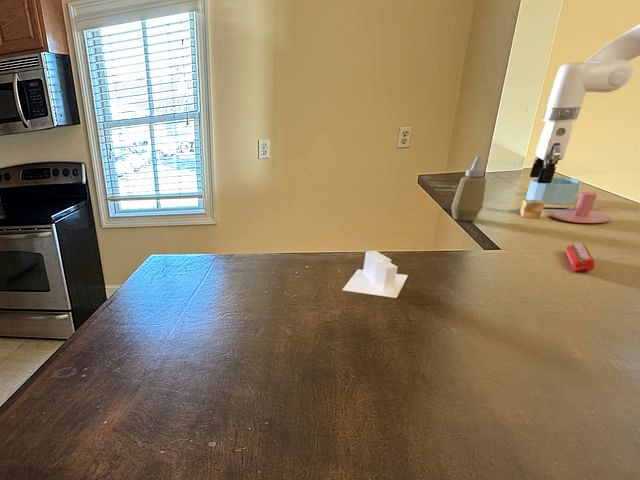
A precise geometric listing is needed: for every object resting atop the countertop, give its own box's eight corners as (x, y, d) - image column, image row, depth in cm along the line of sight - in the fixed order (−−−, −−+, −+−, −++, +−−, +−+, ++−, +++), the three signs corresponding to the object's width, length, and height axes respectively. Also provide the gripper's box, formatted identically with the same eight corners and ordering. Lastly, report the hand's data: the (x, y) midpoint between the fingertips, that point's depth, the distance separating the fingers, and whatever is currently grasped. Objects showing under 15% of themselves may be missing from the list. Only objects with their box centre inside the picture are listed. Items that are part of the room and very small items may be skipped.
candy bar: (562, 252, 117) (567, 240, 115) (581, 253, 115) (586, 241, 113) (571, 273, 105) (576, 260, 103) (593, 275, 103) (598, 262, 102)
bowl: (566, 201, 158) (574, 177, 154) (577, 209, 148) (587, 184, 144) (520, 200, 162) (527, 177, 158) (528, 208, 152) (536, 184, 149)
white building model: (357, 269, 116) (360, 245, 113) (408, 274, 110) (413, 250, 108) (341, 290, 105) (344, 265, 102) (397, 298, 100) (402, 272, 97)
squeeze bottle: (443, 216, 151) (457, 155, 142) (470, 215, 151) (485, 153, 142) (456, 223, 144) (472, 159, 135) (484, 221, 144) (501, 157, 135)
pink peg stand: (601, 214, 142) (611, 188, 139) (618, 226, 131) (629, 199, 128) (545, 212, 147) (553, 188, 144) (557, 224, 136) (566, 198, 133)
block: (536, 214, 146) (541, 199, 144) (539, 218, 143) (544, 203, 141) (519, 214, 148) (523, 199, 146) (522, 217, 144) (526, 202, 142)
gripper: (587, 116, 123) (563, 185, 132) (568, 112, 137) (547, 175, 146) (552, 117, 126) (530, 185, 135) (537, 113, 140) (518, 175, 148)
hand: (539, 180), depth 140 cm, fingers open, 9 cm apart
